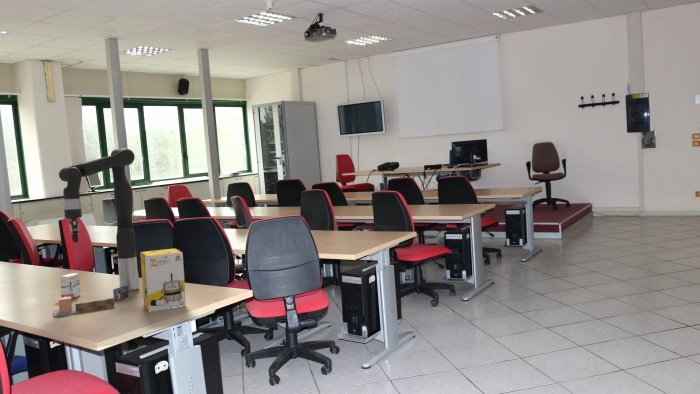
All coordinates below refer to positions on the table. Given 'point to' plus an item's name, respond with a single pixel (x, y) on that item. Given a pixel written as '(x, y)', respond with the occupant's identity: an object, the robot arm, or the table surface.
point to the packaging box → (163, 279)
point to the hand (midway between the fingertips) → (75, 241)
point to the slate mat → (57, 313)
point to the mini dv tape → (120, 293)
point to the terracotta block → (65, 304)
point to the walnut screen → (94, 305)
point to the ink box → (70, 285)
